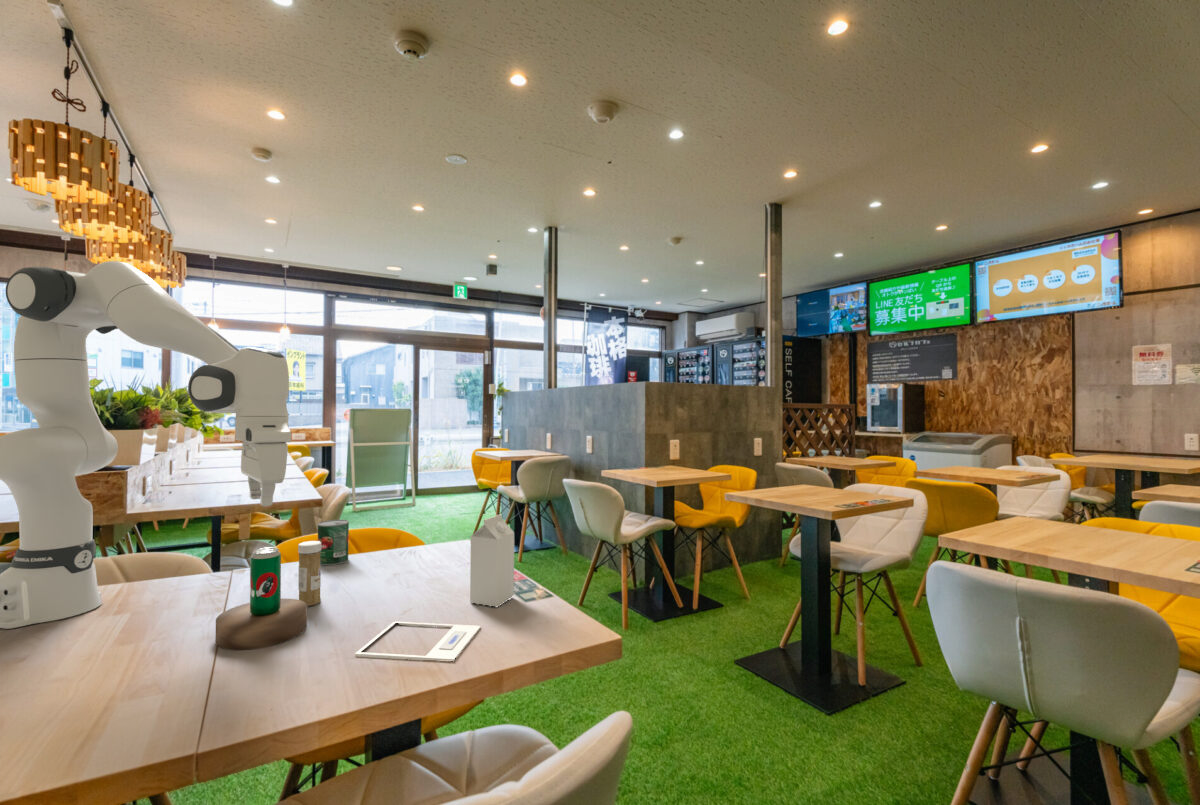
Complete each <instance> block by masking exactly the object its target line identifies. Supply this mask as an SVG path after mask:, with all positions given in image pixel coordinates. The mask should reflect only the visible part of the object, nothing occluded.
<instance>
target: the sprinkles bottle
mask: <svg viewBox="0 0 1200 805" xmlns="http://www.w3.org/2000/svg"><path fill="white" fill-rule="evenodd" d="M297 549H298V550H297V553H298V600H301V601H303V602H305V603H306V604H307V607H311V606H315V605H317V604H319V603H321V601H322V599H321V586H322V585H321V578H322V577H321V575H322V573H321V569H322V568H321V565H320V552H321V542H320V541H318V540H308V541H303V542H301V543H298V547H297Z"/></svg>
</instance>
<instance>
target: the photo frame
mask: <svg viewBox="0 0 1200 805" xmlns="http://www.w3.org/2000/svg"><path fill="white" fill-rule="evenodd" d="M395 623H400V624H399V626H400V625H407V626H406V627H418V626H435V627H434V628H437V627H452V628H449V630H448V632H446V633H445V634H444V636H442V638H441V639H440V640H438V642H437V643H436V644H435V645H434V646H433V647H432V649H431V650H430V651H428V653H427V654H426V655H416V654H399V653H397V654H396V653H382V652H379V653H378V652H366V651H365V652H364V651H363V650H365V649H366V648H368V647H369V645H371V644H372V643H373V642H375V641H376V640H377V639H379V638H380V637H381V636H382V635H383V634H384V633H386V632H387V631H388V630H389V629H390V628H392V627H393V626H394V625H396V624H395ZM408 625H410V626H408ZM436 626H437V627H436ZM480 628H482V625H472V624H450V623H433V622H432V623H431V622H412V621H411V622H410V621H393V622H391V624H389V625H388V626H387V627H386V628H385V629H383V630H382V631H381V632H380V633H378V634H377V635H376V636H374V637H373V638H372V639H371V640H369V642H367V643H366V644H364V646H362V647H361V648H360V649H358V650H357V651H356V652H355V653H354V657H356V658H375V659H388V658H389V659H390V660H392V659H393V660H405V659H408V660H409V661H410V659H411V661H423V660H453V661H454V660H455V658H456V657H457V656H458V655H459V654H460V652H461V651H462V650H463V649H464V648H465V646H466V645H467V644H468V643H469V642H471V641H472V640H473V639H474V638H473V637H475V636H476V635H477V634H478V633H477V631H478V630H479V629H480ZM480 630H481V629H480ZM480 630H479V631H480ZM479 631H478V632H479ZM476 633H477V634H476ZM475 634H476V635H475ZM474 635H475V636H474ZM472 638H473V639H472ZM471 639H472V640H471ZM470 640H471V641H470ZM469 644H470V643H469ZM469 644H468V645H469ZM468 645H467V646H468ZM467 646H466V647H467ZM465 649H466V648H465ZM465 649H464V650H465ZM464 650H463V651H464ZM362 651H363V652H362ZM463 651H462V652H463ZM460 655H461V654H460ZM460 655H459V656H460ZM459 656H458V657H459ZM455 661H456V660H455Z"/></svg>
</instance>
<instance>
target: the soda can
mask: <svg viewBox="0 0 1200 805" xmlns="http://www.w3.org/2000/svg"><path fill="white" fill-rule="evenodd" d="M249 575H250V576H249V603H250V613H251V614H252V615H254V616H267V615H271V614H274V613H276V612H277V611H278V610H279V609H280V607H281V599H282V598H281V597H282V596H281V594H282V593H281V592H282V591H281V588H282V587H281V585H282V581H281V580H282V578H281V576H282V554H281V552H280V549H279V548H278V547H262V548H257V549H254V550H253V551H252V555H251V556H250V557H249Z"/></svg>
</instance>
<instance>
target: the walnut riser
mask: <svg viewBox="0 0 1200 805" xmlns="http://www.w3.org/2000/svg"><path fill="white" fill-rule="evenodd" d="M307 613H308V606H307V604H306V603H305V602H303V601H301V600H299V599H298V598H297V599H296V598H281V607H280V609H279V610H278V611H277V612H276V613H274V614H271V615H267V616H254V615H252V614H251V613H250V602H248V603H244V604H240V605H236V606H233V607H231V608H229V609H227V610H225V611H223V612H221V613H220V614H218V615H217V616H216V618H215V645H216V646H217V647H219V648H221V649H225V650H230V651H245V650H255V649H262V648H266V647H271V646H274V645H280V644H282V643H285V642H287V641H290V640H292V639H295V638H296V637H298V636H300V635H301V634H302V633H304V631H306V629H307V627H308V626H307V624H308V623H307V622H308V615H307Z"/></svg>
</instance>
